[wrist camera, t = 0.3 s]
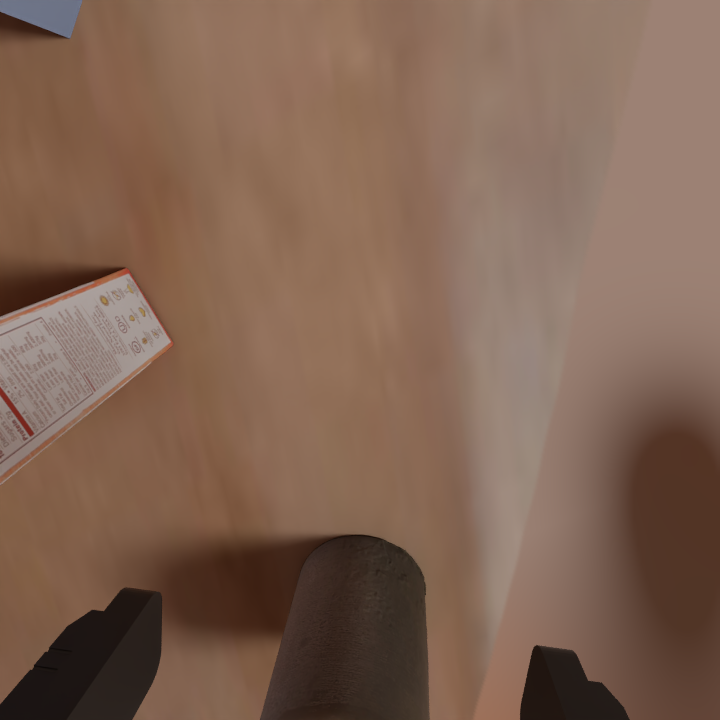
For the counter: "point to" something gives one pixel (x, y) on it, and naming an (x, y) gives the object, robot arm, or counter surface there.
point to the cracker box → (70, 361)
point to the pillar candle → (353, 637)
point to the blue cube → (45, 13)
